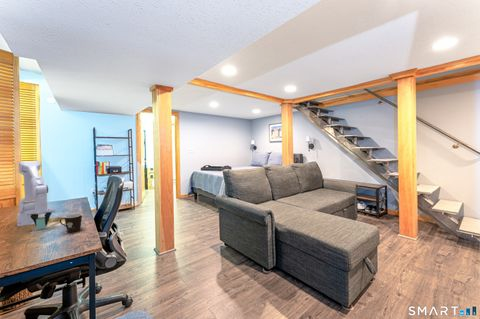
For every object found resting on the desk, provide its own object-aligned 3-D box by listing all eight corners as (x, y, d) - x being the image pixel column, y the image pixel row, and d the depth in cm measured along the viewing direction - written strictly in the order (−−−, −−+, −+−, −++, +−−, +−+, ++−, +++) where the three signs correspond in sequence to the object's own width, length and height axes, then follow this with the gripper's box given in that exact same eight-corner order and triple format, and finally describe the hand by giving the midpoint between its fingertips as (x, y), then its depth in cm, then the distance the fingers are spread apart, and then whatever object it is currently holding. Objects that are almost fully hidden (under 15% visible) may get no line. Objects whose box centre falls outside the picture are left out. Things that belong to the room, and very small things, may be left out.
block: (36, 229, 128) (36, 219, 128) (38, 226, 131) (38, 217, 131) (45, 227, 130) (44, 218, 130) (47, 225, 133) (46, 216, 133)
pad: (29, 234, 125) (29, 233, 125) (34, 229, 132) (34, 228, 132) (49, 231, 129) (49, 230, 129) (53, 226, 137) (53, 226, 137)
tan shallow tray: (41, 228, 134) (41, 223, 134) (46, 223, 144) (46, 218, 144) (66, 224, 141) (66, 219, 141) (69, 220, 150) (69, 215, 150)
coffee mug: (85, 229, 132) (85, 214, 132) (71, 234, 124) (70, 218, 124) (73, 227, 136) (73, 212, 135) (58, 232, 128) (58, 216, 127)
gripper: (22, 207, 123) (23, 229, 123) (54, 203, 130) (54, 224, 131) (27, 204, 129) (27, 225, 130) (57, 201, 136) (57, 221, 137)
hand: (41, 225), depth 131 cm, fingers closed on block, 4 cm apart
